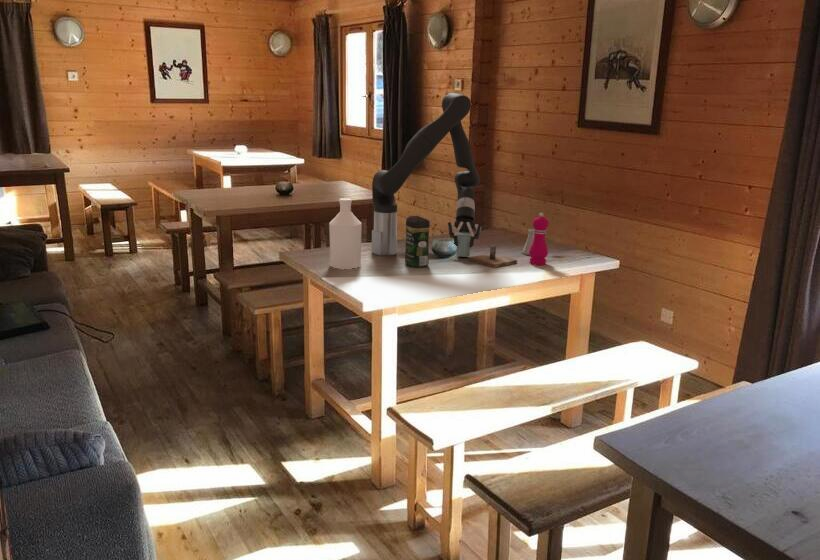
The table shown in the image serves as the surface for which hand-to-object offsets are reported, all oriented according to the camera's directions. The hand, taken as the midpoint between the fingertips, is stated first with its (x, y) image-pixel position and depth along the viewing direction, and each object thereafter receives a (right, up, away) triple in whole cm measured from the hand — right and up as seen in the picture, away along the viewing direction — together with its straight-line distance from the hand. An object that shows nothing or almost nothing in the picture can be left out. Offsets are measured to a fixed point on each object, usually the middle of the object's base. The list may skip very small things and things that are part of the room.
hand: (463, 245), depth 268 cm
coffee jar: (-19, -8, -11) cm, 23 cm away
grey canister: (0, -4, +3) cm, 5 cm away
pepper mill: (+29, -7, -4) cm, 30 cm away
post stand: (+11, -6, -3) cm, 13 cm away
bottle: (-45, -8, -15) cm, 49 cm away
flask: (+29, -3, +13) cm, 31 cm away
